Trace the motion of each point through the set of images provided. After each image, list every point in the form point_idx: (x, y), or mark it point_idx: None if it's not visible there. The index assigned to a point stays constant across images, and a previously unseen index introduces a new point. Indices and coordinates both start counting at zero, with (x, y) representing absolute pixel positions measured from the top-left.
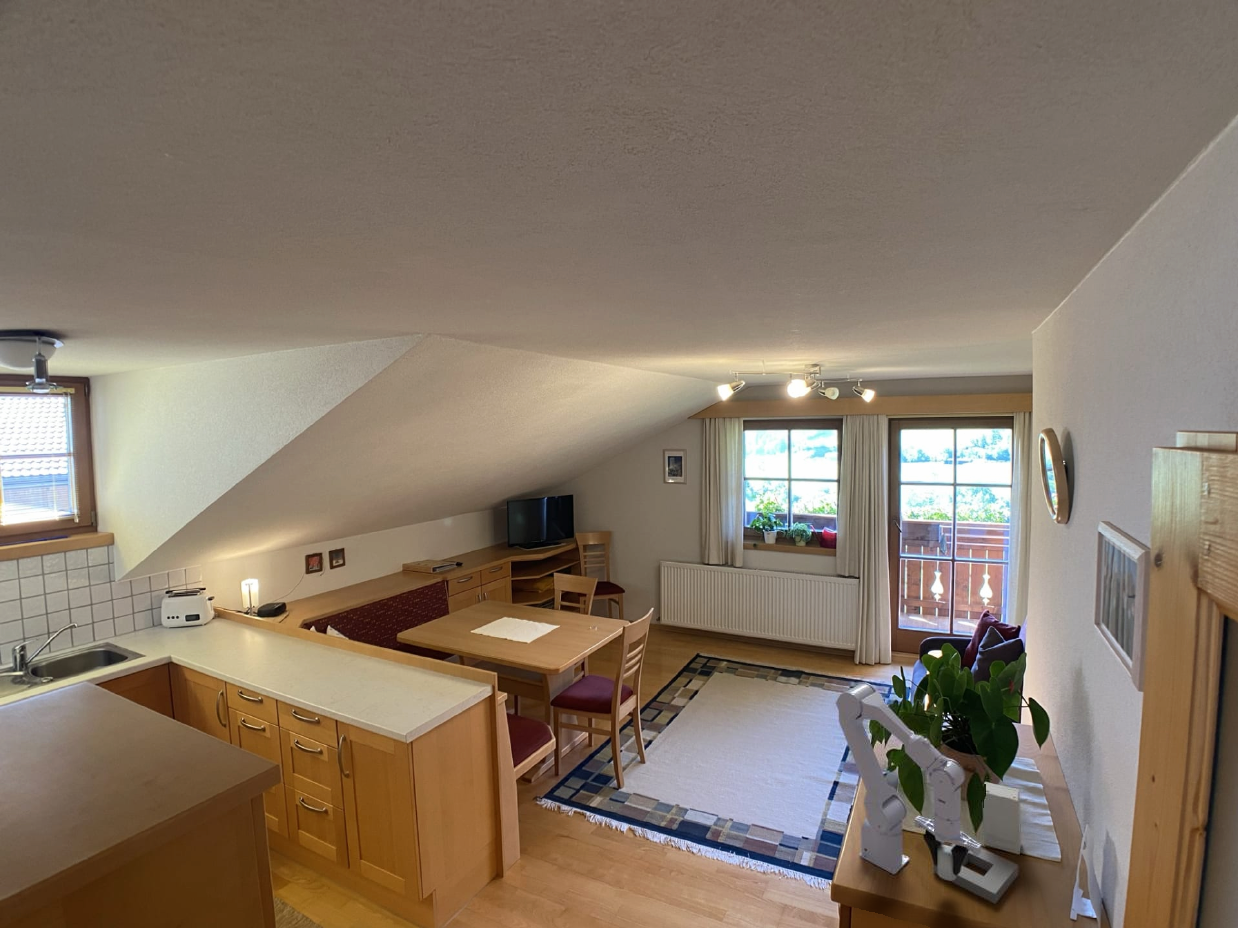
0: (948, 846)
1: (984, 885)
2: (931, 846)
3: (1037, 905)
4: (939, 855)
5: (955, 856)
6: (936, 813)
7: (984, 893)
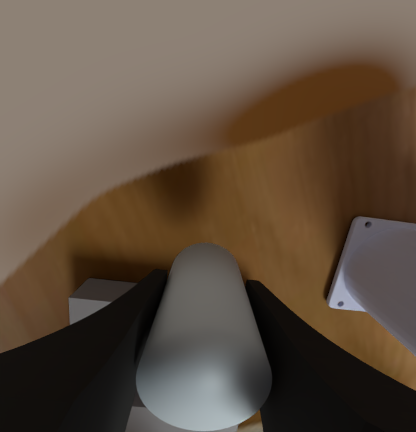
0: (209, 423)
1: None
2: (322, 356)
3: (14, 333)
4: (240, 315)
5: (75, 348)
6: None
7: (110, 289)
